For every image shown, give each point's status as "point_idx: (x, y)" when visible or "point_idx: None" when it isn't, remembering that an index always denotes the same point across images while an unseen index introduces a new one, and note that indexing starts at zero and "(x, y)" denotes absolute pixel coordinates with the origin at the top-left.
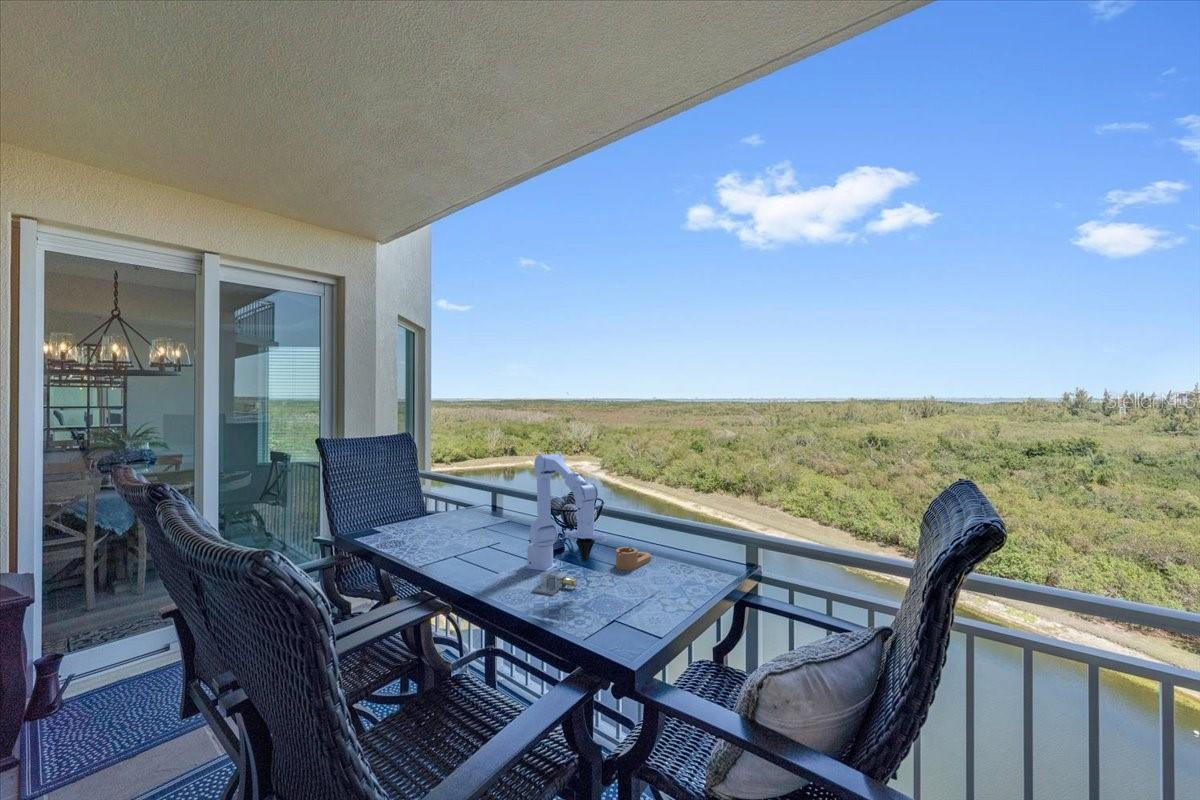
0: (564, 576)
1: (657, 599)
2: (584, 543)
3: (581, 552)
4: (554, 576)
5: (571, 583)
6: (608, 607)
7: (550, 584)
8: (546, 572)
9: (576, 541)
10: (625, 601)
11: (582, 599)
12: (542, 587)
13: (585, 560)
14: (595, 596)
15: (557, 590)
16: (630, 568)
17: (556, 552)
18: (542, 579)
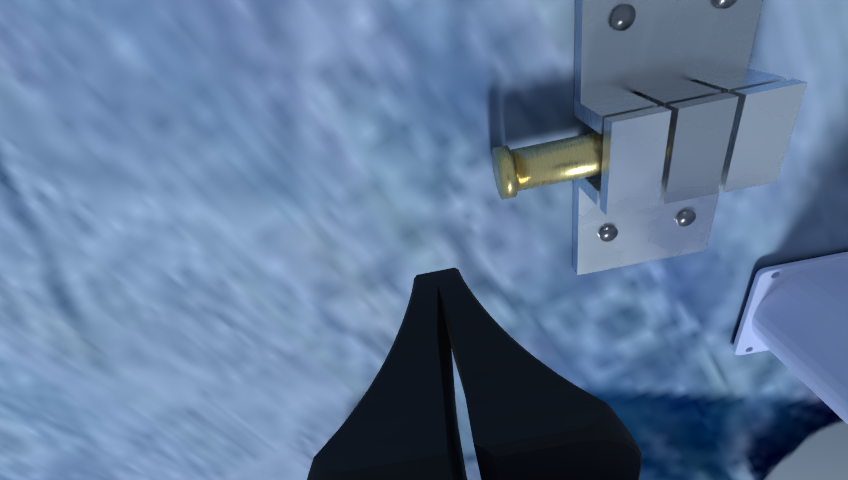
0: (602, 176)
1: (3, 286)
2: (409, 455)
3: (479, 324)
4: (674, 117)
5: (519, 150)
6: (86, 10)
7: (668, 87)
8: (766, 143)
9: (625, 448)
10: (98, 168)
11: (341, 29)
12: (710, 10)
13: (421, 279)
14: (304, 128)
15: (579, 41)
16: None
17: (777, 439)
18: (757, 77)
